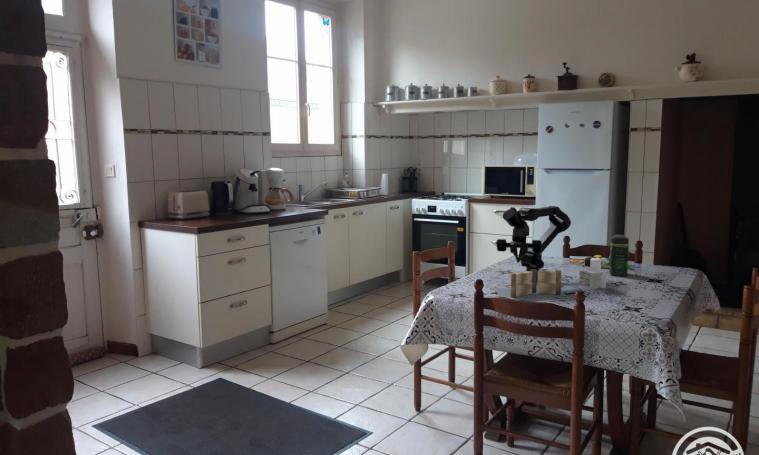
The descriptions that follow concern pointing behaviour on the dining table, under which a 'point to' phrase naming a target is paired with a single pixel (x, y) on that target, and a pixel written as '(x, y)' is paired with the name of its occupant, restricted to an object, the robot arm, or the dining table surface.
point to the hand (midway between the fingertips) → (517, 262)
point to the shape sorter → (604, 263)
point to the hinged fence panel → (523, 283)
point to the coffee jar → (619, 255)
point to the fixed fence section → (549, 282)
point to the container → (592, 274)
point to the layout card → (507, 293)
